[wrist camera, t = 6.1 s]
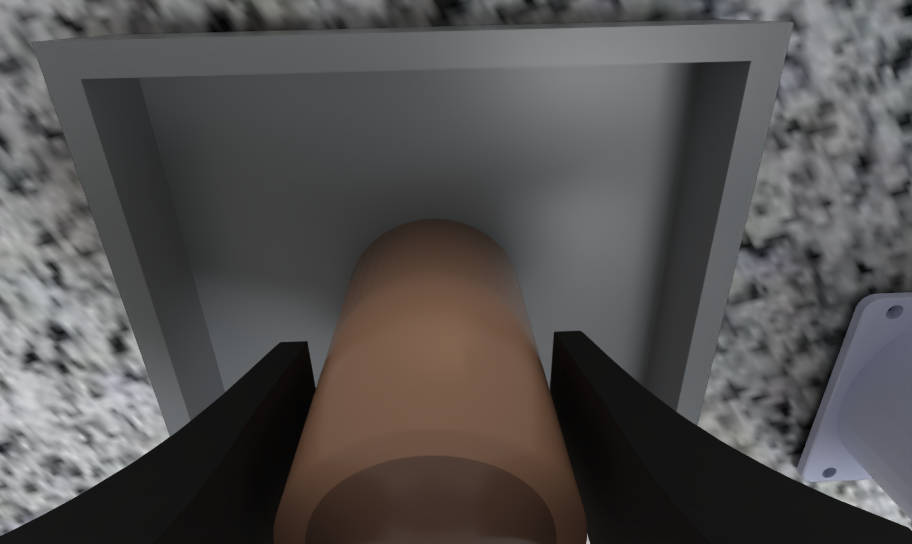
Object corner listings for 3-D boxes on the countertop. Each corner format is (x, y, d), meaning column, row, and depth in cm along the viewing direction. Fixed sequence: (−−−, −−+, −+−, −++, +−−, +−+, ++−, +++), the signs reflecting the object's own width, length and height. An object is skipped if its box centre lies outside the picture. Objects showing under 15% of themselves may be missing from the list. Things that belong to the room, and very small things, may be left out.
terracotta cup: (521, 215, 15) (602, 423, 7) (517, 363, 17) (576, 632, 10) (338, 222, 14) (241, 439, 7) (359, 370, 17) (300, 645, 10)
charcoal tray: (721, 19, 13) (793, 22, 11) (644, 439, 20) (677, 507, 17) (115, 34, 13) (31, 41, 10) (235, 456, 19) (202, 529, 17)
